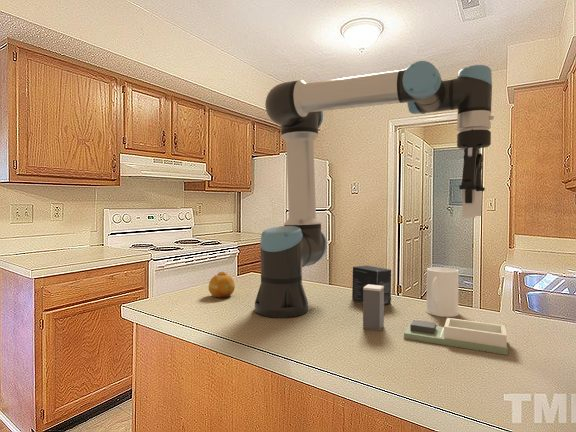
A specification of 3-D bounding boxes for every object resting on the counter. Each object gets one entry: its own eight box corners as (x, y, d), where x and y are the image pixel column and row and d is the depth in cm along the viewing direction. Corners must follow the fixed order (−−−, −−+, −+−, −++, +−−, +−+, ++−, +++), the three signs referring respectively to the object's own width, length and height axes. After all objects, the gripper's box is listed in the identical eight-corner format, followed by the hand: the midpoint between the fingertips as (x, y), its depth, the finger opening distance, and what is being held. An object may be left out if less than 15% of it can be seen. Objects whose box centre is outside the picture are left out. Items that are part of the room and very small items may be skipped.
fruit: (225, 284, 128) (217, 266, 124) (242, 289, 124) (235, 271, 120) (209, 300, 123) (200, 282, 119) (226, 306, 118) (218, 288, 114)
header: (443, 338, 80) (444, 326, 80) (446, 328, 86) (447, 317, 86) (506, 347, 74) (506, 335, 74) (504, 336, 81) (505, 325, 81)
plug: (363, 328, 90) (363, 287, 89) (367, 323, 93) (367, 284, 93) (379, 331, 88) (379, 289, 88) (383, 326, 91) (383, 285, 91)
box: (391, 303, 112) (392, 269, 112) (376, 307, 108) (377, 271, 108) (366, 296, 121) (366, 264, 120) (351, 299, 117) (351, 266, 117)
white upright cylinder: (445, 322, 95) (446, 275, 94) (414, 314, 101) (414, 270, 100) (464, 312, 103) (464, 269, 102) (434, 306, 109) (434, 265, 108)
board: (404, 338, 83) (404, 326, 83) (410, 327, 91) (410, 316, 90) (507, 355, 74) (507, 342, 74) (505, 341, 81) (505, 329, 81)
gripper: (486, 120, 80) (484, 218, 81) (494, 137, 101) (492, 215, 102) (448, 124, 84) (447, 217, 85) (464, 139, 105) (462, 215, 106)
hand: (472, 216), depth 93 cm, fingers open, 13 cm apart
